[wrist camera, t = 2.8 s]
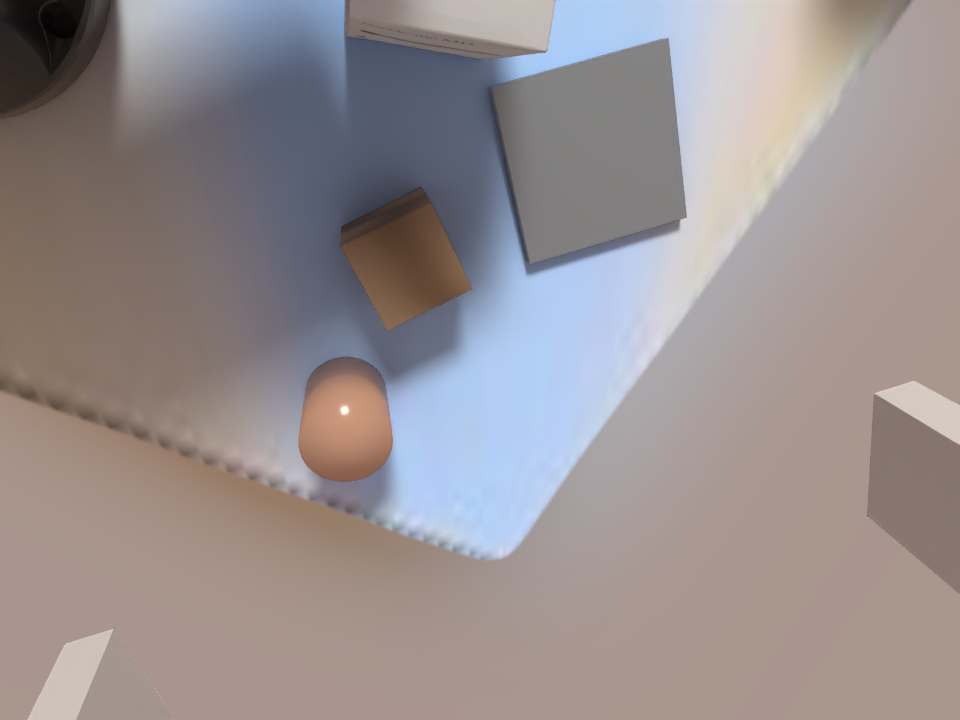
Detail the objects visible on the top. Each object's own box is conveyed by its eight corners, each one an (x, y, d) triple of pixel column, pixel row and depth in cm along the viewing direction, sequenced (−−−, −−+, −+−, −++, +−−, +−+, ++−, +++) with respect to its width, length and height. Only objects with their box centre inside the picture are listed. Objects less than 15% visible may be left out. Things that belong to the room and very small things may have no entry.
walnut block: (382, 301, 38) (387, 330, 34) (341, 226, 36) (340, 247, 32) (457, 264, 38) (472, 288, 34) (420, 186, 36) (431, 202, 32)
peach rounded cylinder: (321, 438, 41) (317, 492, 36) (293, 371, 39) (284, 418, 34) (396, 415, 42) (403, 465, 36) (372, 347, 39) (376, 389, 34)
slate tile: (526, 260, 39) (530, 264, 38) (488, 87, 35) (491, 87, 34) (680, 214, 40) (686, 217, 39) (661, 39, 35) (668, 38, 35)
